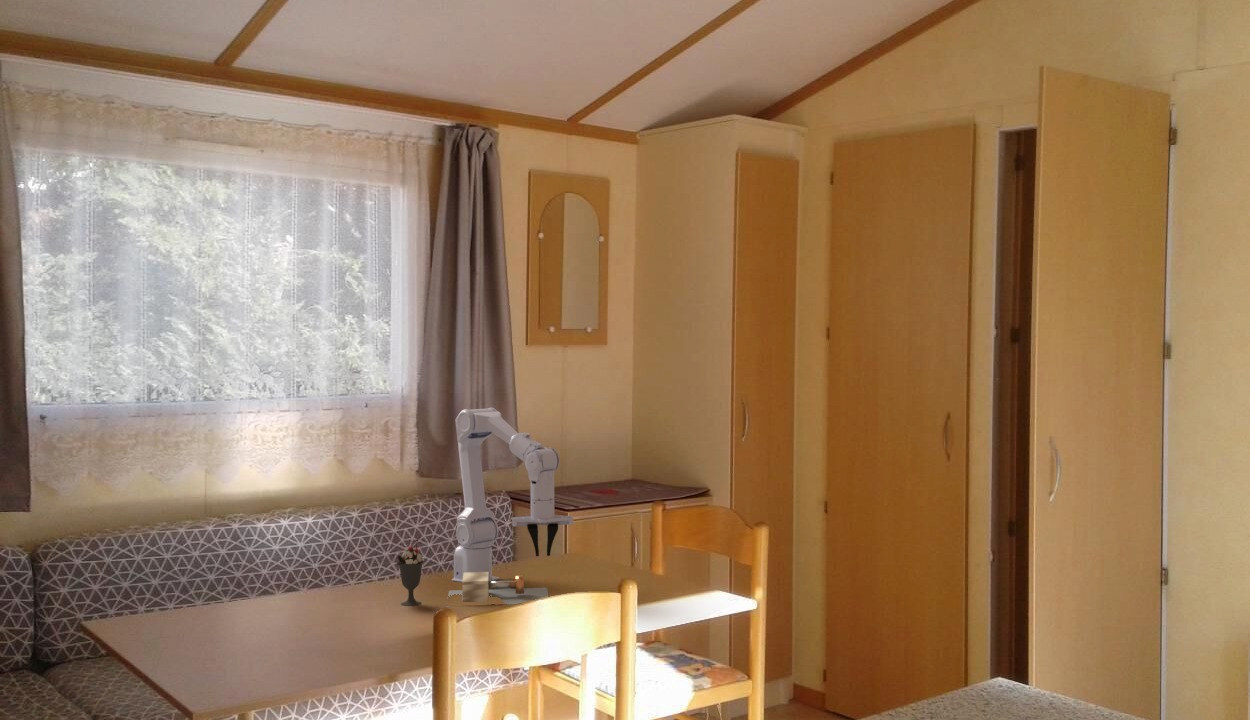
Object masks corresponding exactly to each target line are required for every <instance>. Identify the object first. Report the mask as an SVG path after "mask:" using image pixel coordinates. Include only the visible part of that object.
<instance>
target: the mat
mask: <svg viewBox="0 0 1250 720" xmlns="http://www.w3.org/2000/svg"><path fill="white" fill-rule="evenodd" d="M454 594H456V595H457V594H459V595H460V594H461V595H462V589H459V590H456V589H455V590H448V595H447V597H448V596H449V597H450V595H451V596H452V595H454ZM490 595H492V597H498V598H500V599H501V600H503V602H504V603H505V604H507V605H506V606H509V605H510V606H511V605H513V604H517V605H519V604H518V603H522V602H526V601H529V600H535V599H538V598H541V597H545V596H549V590H548V587H524V594H516V589H497V590H489V596H490ZM490 597H491V596H490ZM445 607H446V608H448V607H450V606H446V605H445Z"/></svg>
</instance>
